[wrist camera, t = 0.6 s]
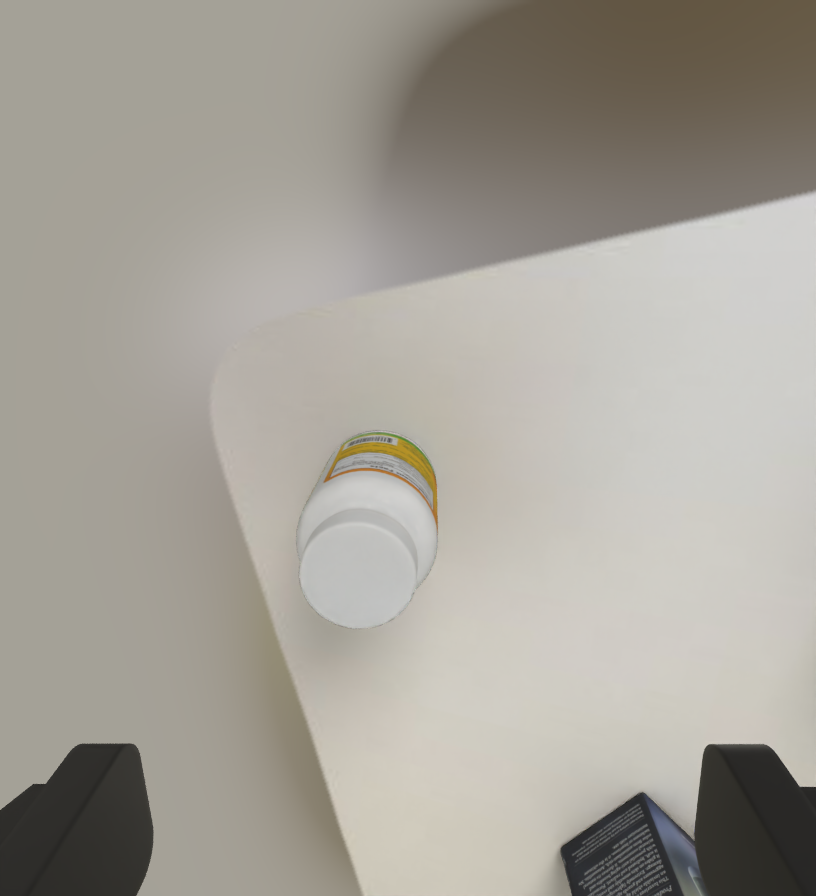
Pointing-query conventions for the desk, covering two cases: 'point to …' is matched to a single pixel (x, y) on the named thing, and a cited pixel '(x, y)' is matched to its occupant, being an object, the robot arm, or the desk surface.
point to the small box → (633, 855)
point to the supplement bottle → (368, 530)
